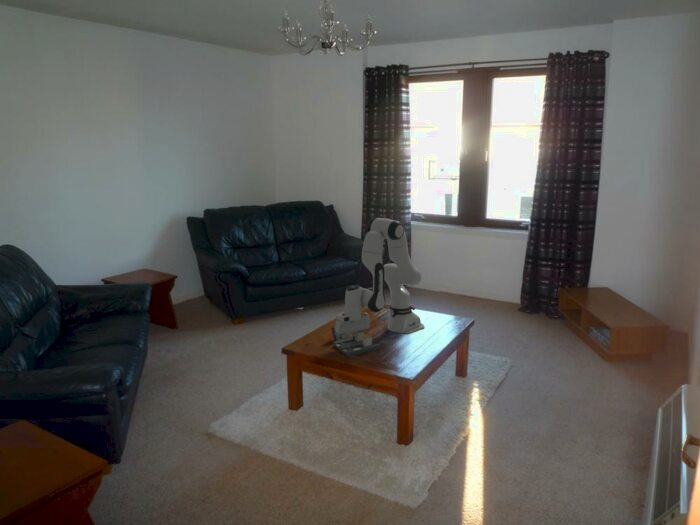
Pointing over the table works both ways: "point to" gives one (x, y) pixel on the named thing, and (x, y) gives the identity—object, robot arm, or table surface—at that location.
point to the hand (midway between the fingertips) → (352, 338)
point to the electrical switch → (337, 336)
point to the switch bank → (355, 347)
